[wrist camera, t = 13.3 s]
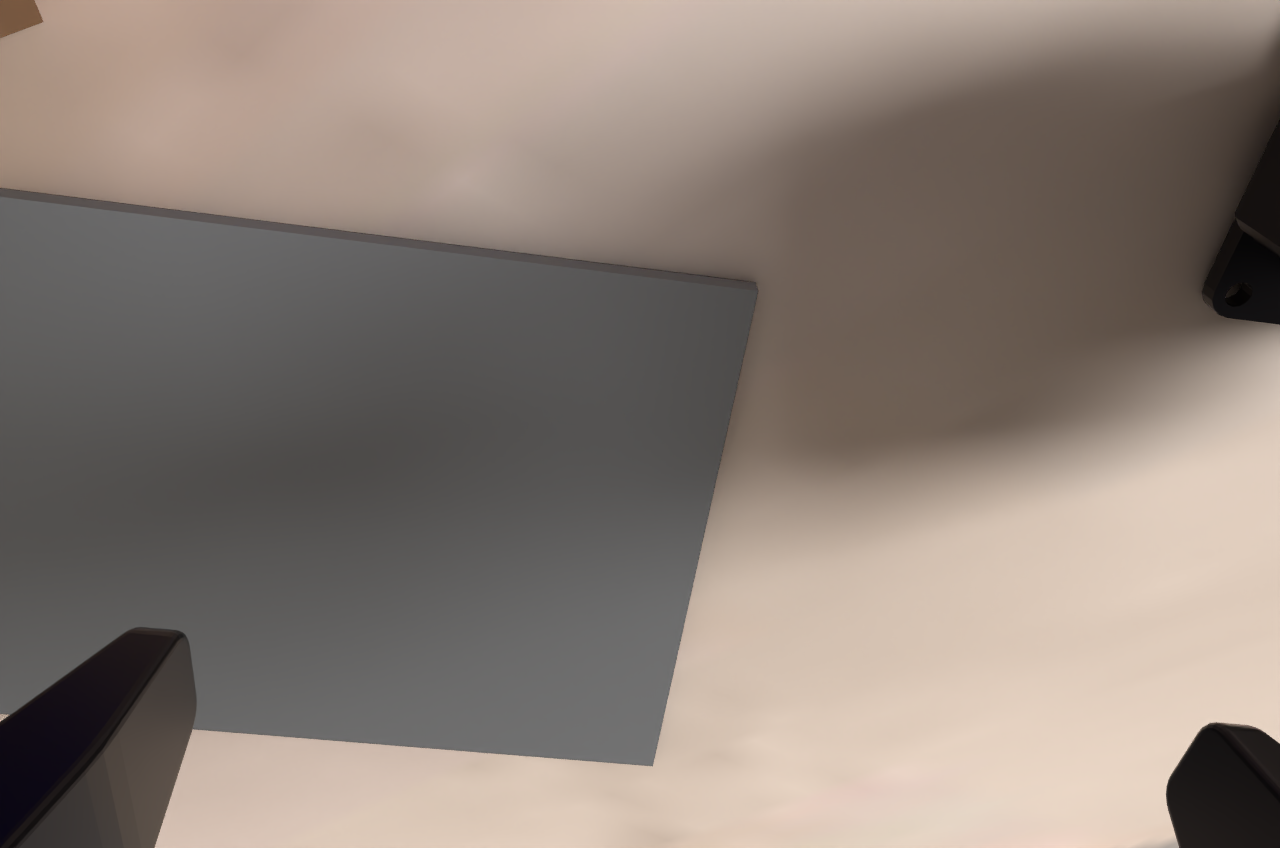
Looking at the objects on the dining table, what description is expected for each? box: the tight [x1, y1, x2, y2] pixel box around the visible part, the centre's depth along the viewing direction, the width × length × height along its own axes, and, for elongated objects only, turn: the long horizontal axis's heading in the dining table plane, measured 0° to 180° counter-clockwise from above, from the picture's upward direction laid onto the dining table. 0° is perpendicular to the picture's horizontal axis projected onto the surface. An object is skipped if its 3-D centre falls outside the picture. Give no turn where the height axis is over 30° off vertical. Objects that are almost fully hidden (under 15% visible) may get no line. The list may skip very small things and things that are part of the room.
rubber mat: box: [0, 188, 758, 766], centre depth 22 cm, size 28×14×1 cm, turn 82°
